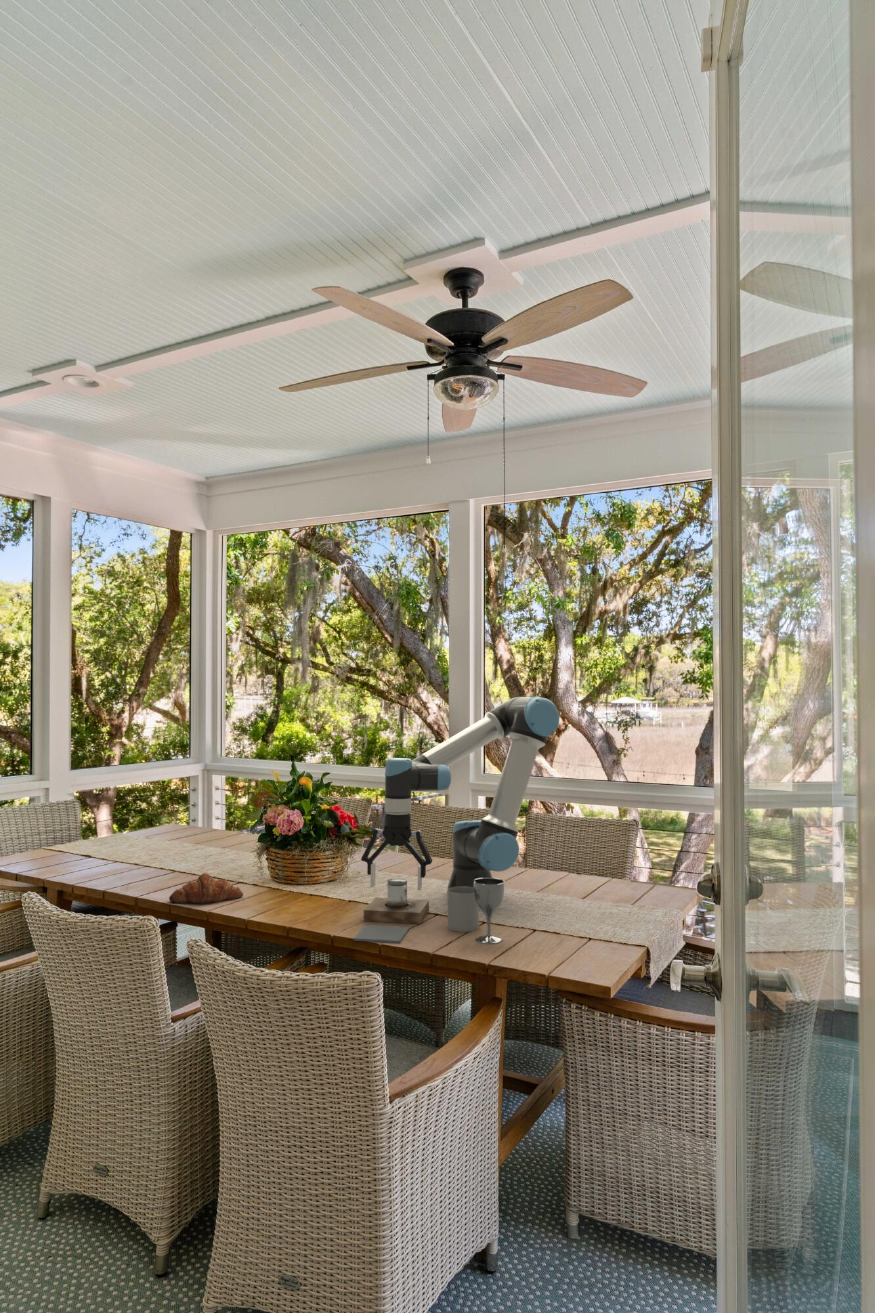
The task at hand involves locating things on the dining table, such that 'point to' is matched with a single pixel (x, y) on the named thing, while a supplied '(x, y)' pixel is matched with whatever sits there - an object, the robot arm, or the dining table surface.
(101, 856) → the dining table surface
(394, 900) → the plug
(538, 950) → the dining table surface
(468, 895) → the cup
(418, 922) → the block
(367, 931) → the mat
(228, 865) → the dining table surface
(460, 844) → the robot arm
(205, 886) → the pastry
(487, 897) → the wine glass
